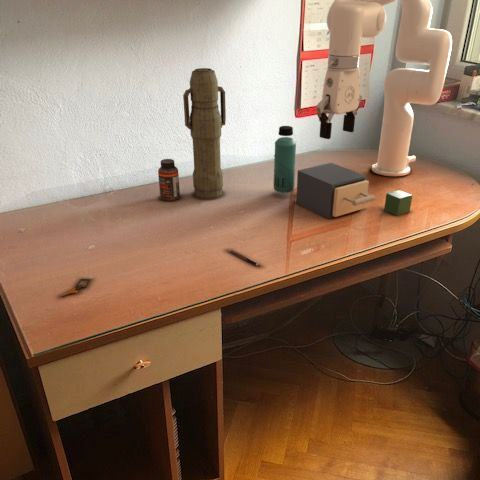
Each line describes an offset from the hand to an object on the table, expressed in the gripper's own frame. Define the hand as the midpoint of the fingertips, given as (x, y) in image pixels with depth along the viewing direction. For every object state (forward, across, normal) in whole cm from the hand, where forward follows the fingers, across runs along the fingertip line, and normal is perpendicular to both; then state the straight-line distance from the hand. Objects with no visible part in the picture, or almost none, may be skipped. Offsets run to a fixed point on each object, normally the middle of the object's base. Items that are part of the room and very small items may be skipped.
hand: (336, 134), depth 140 cm
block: (+21, +13, -13) cm, 28 cm away
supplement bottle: (+22, -26, +41) cm, 53 cm away
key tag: (+22, -74, +12) cm, 78 cm away
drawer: (+20, +2, -2) cm, 20 cm away
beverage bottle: (+21, +1, +18) cm, 28 cm away
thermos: (+21, -16, +35) cm, 44 cm away
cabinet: (+21, +3, +3) cm, 22 cm away
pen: (+22, -38, -4) cm, 44 cm away
